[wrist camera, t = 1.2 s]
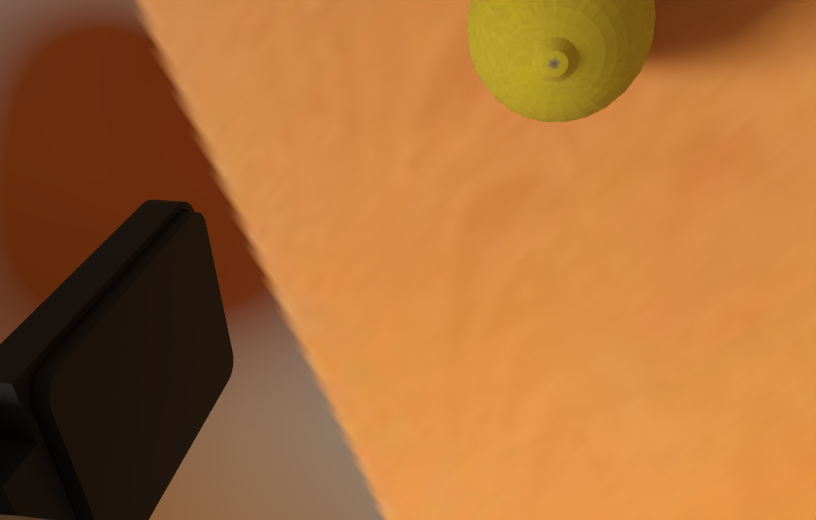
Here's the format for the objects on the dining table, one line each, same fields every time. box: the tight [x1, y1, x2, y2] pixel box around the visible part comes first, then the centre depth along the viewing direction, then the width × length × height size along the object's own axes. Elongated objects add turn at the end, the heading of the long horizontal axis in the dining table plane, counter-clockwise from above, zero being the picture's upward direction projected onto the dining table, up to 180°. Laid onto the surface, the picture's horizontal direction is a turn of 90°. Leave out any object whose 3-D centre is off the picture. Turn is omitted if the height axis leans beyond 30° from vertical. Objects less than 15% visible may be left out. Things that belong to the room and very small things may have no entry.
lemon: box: [467, 0, 656, 122], centre depth 23 cm, size 6×6×8 cm
